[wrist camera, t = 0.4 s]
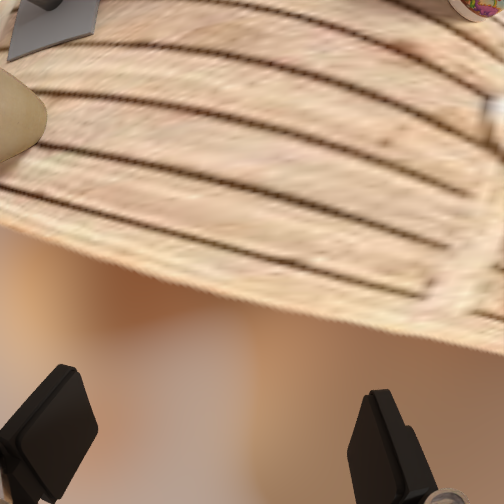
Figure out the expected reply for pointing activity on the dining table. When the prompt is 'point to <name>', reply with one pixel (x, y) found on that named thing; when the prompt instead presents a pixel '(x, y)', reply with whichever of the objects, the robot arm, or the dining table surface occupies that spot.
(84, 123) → the dining table surface
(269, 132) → the dining table surface
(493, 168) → the dining table surface
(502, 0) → the milk bottle
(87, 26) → the lid
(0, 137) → the plant pot
